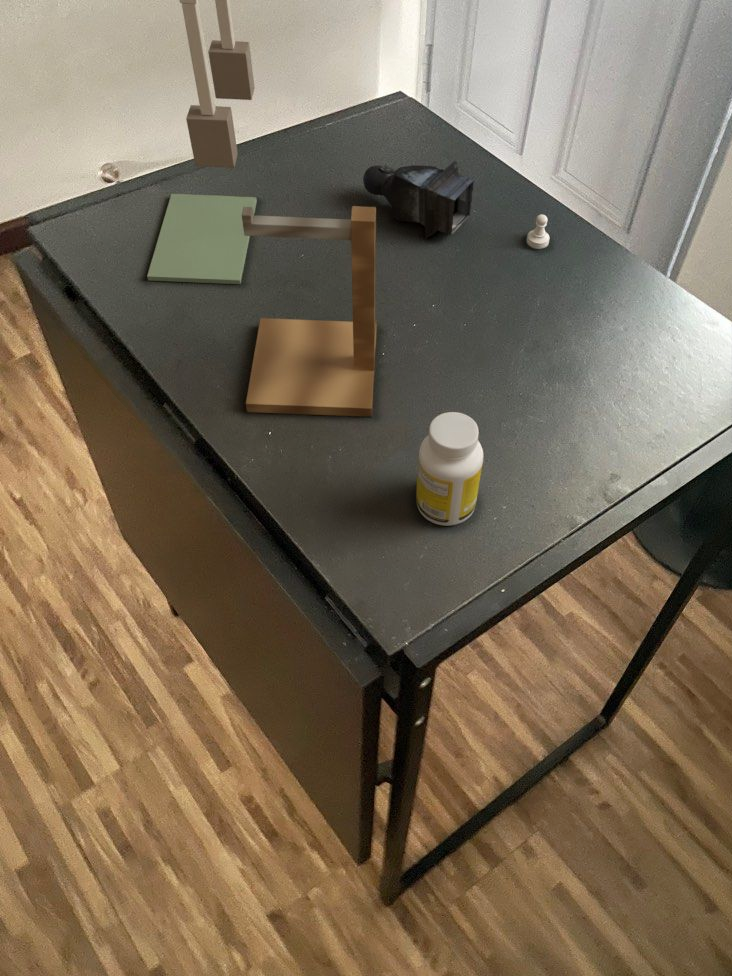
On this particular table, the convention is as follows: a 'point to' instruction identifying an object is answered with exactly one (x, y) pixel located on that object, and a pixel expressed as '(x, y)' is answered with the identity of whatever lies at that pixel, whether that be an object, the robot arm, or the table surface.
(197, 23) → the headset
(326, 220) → the stand
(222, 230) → the mat
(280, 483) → the table surface
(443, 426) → the supplement bottle
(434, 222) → the dark knob-ended part
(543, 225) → the chess pawn
